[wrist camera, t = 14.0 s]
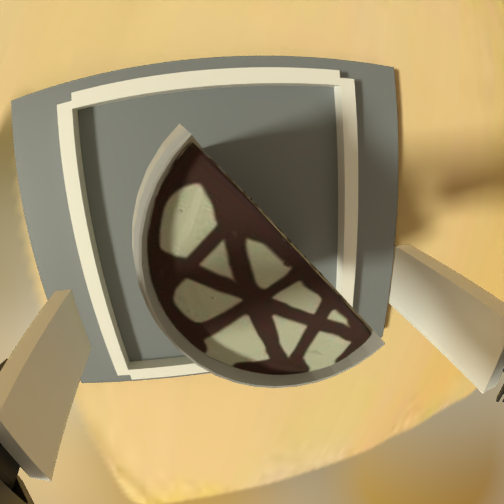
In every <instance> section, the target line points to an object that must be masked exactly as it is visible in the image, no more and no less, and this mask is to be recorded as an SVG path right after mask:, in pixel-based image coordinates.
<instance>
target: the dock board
mask: <svg viewBox="0 0 504 504" xmlns="http://www.w3.org/2000/svg"><path fill="white" fill-rule="evenodd" d="M11 104H12V126H13V138H14V150H15V159H16V167H17V175H18V181H19V188H20V194H21V199H22V205H23V210H24V215H25V220H26V224H27V229H28V233H29V238H30V242H31V246H32V250H33V253H34V257H35V261H36V264H37V268H38V271H39V275H40V278H41V281H42V284H43V288H44V291H45V294H46V297H47V300H49V298H50V297H51V296H52V294H53V293H54V292H55V291H59V290H68V289H72V293H73V296H74V299H75V302H76V305H77V308H78V311H79V314H80V317H81V320H82V323H83V326H84V329H85V332H86V334H87V337H88V340H89V342H90V345H91V347H92V348H91V351H90V354H89V356H88V359H87V362H86V365H85V367H84V370H83V373H82V376H81V379H80V380H81V382H82V383H99V382H120V381H136V380H149V379H160V378H171V377H180V376H189V375H197V374H205V373H210V372H209V371H207V370H205V369H203V368H201V367H200V366H198V365H196V364H195V363H194V362H193V361H191V360H190V359H189V358H188V357H186V356H185V355H184V354H183V353H181V352H180V351H179V350H178V349H177V348H176V346H175V345H174V344H173V343H172V342H171V341H170V340H169V338H168V337H167V336H166V335H165V334H164V333H163V331H162V330H161V329H160V328H159V327H158V325H157V323H156V322H155V320H154V318H153V317H152V315H151V313H150V311H149V310H148V308H147V306H146V303H145V301H144V298H143V295H142V293H141V290H140V287H139V285H138V280H137V275H136V269H135V263H134V257H133V248H132V220H133V215H134V209H135V204H136V199H137V194H138V191H139V188H140V186H141V183H142V181H143V178H144V175H145V173H146V170H147V168H148V166H149V164H150V163H151V161H152V159H153V158H154V156H155V154H156V153H157V151H158V149H159V148H160V146H161V144H162V143H163V142H164V141H165V140H166V138H167V137H168V136H169V135H170V134H171V133H172V131H173V130H174V129H175V128H176V127H177V126H178V124H181V125H182V126H183V127H184V128H185V129H186V130H187V131H188V132H190V133H191V134H192V135H193V137H194V138H195V139H196V141H197V142H198V143H199V145H200V146H201V147H202V149H203V150H204V151H205V152H206V153H207V154H208V155H209V156H210V157H211V158H212V159H213V160H214V161H215V162H216V163H217V164H218V165H219V166H220V167H221V168H222V169H223V170H224V171H225V172H226V173H227V174H228V175H229V177H230V178H231V179H232V180H233V181H234V182H235V183H236V184H237V185H238V186H239V187H240V188H241V189H242V190H243V191H245V193H246V194H247V195H248V196H249V197H250V198H252V200H253V201H254V202H255V203H256V204H257V205H258V207H259V208H260V209H261V210H262V211H263V212H264V213H265V214H266V215H267V216H268V217H269V218H270V219H271V220H272V221H273V222H274V223H275V225H276V226H277V227H278V228H279V229H280V230H281V231H282V232H283V233H284V234H285V235H286V236H287V237H288V238H289V239H290V240H291V242H292V243H293V244H294V245H295V246H296V247H297V248H298V249H299V250H300V251H301V252H302V253H303V255H304V256H306V258H307V259H308V260H309V261H310V262H311V263H312V264H313V265H314V266H315V267H316V268H317V269H318V270H319V272H320V273H322V275H323V276H324V277H325V278H326V279H327V280H328V281H329V282H330V283H331V284H332V285H333V287H334V288H335V289H336V290H337V291H338V292H339V293H340V294H341V295H342V296H343V297H344V299H345V300H346V301H347V302H348V303H349V304H350V305H351V306H352V307H353V308H354V309H355V311H356V312H357V313H358V314H359V315H360V316H361V317H362V318H363V319H364V320H365V322H366V323H367V324H368V325H369V326H370V327H371V328H372V329H373V330H374V332H375V333H376V334H377V335H378V336H379V337H380V338H381V337H382V336H383V331H384V325H385V319H386V312H387V306H388V299H389V292H390V284H391V276H392V267H393V257H394V246H395V234H396V219H397V200H398V120H397V101H396V87H395V75H394V67H389V66H383V65H377V64H370V63H363V62H355V61H347V60H337V59H326V58H313V57H295V56H232V57H214V58H200V59H189V60H180V61H171V62H164V63H156V64H150V65H143V66H138V67H132V68H126V69H121V70H116V71H111V72H107V73H102V74H98V75H93V76H89V77H85V78H81V79H78V80H74V81H70V82H67V83H63V84H60V85H56V86H53V87H50V88H47V89H43V90H40V91H37V92H34V93H31V94H28V95H26V96H23V97H20V98H17V99H15V100H12V101H11Z"/></svg>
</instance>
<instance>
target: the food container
mask: <svg viewBox="0 0 504 504" xmlns="http://www.w3.org/2000/svg"><path fill="white" fill-rule="evenodd" d="M132 248H133V257H134V263H135V269H136V275H137V280H138V285H139V287H140V290H141V293H142V295H143V298H144V301H145V303H146V306H147V308H148V310H149V311H150V313H151V315H152V317H153V318H154V320H155V322H156V323H157V325H158V327H159V328H160V329H161V330H162V331H163V333H164V334H165V335H166V336H167V337H168V338H169V340H170V341H171V342H172V343H173V344H174V345H175V346H176V348H177V349H178V350H179V351H180V352H181V353H183V354H184V355H185V356H186V357H188V358H189V359H190V360H191V361H193V362H194V363H195V364H196V365H198V366H200V367H201V368H203V369H205V370H207V371H209V372H210V373H212V374H214V375H216V376H218V377H221V378H224V379H227V380H229V381H232V382H235V383H239V384H244V385H249V386H254V387H267V388H283V387H296V386H301V385H306V384H311V383H315V382H319V381H322V380H324V379H327V378H330V377H333V376H336V375H338V374H340V373H342V372H344V371H346V370H348V369H350V368H352V367H354V366H356V365H357V364H359V363H360V362H362V361H363V360H365V359H366V358H368V357H369V356H371V355H372V354H373V353H375V352H376V351H377V350H378V349H380V348H381V347H382V346H383V345H384V344H385V343H384V342H383V341H382V339H381V338H380V337H379V336H378V335H377V334H376V333H375V332H374V330H373V329H372V328H371V327H370V326H369V325H368V324H367V323H366V322H365V320H364V319H363V318H362V317H361V316H360V315H359V314H358V313H357V312H356V311H355V309H354V308H353V307H352V306H351V305H350V304H349V303H348V302H347V301H346V300H345V299H344V297H343V296H342V295H341V294H340V293H339V292H338V291H337V290H336V289H335V288H334V287H333V285H332V284H331V283H330V282H329V281H328V280H327V279H326V278H325V277H324V276H323V275H322V273H320V272H319V270H318V269H317V268H316V267H315V266H314V265H313V264H312V263H311V262H310V261H309V260H308V259H307V258H306V256H304V255H303V253H302V252H301V251H300V250H299V249H298V248H297V247H296V246H295V245H294V244H293V243H292V242H291V240H290V239H289V238H288V237H287V236H286V235H285V234H284V233H283V232H282V231H281V230H280V229H279V228H278V227H277V226H276V225H275V223H274V222H273V221H272V220H271V219H270V218H269V217H268V216H267V215H266V214H265V213H264V212H263V211H262V210H261V209H260V208H259V207H258V205H257V204H256V203H255V202H254V201H253V200H252V198H250V197H249V196H248V195H247V194H246V193H245V191H243V190H242V189H241V188H240V187H239V186H238V185H237V184H236V183H235V182H234V181H233V180H232V179H231V178H230V177H229V175H228V174H227V173H226V172H225V171H224V170H223V169H222V168H221V167H220V166H219V165H218V164H217V163H216V162H215V161H214V160H213V159H212V158H211V157H210V156H209V155H208V154H207V153H206V152H205V151H204V150H203V149H202V147H201V146H200V145H199V143H198V142H197V141H196V139H195V138H194V137H193V135H192V134H191V133H190V132H188V131H187V130H186V129H185V128H184V127H183V126H182V125H181V124H178V126H177V127H176V128H175V129H174V130H173V131H172V133H171V134H170V135H169V136H168V137H167V138H166V140H165V141H164V142H163V143H162V144H161V146H160V148H159V149H158V151H157V153H156V154H155V156H154V158H153V159H152V161H151V163H150V164H149V166H148V168H147V170H146V173H145V175H144V178H143V181H142V183H141V186H140V188H139V191H138V194H137V199H136V204H135V209H134V215H133V220H132Z"/></svg>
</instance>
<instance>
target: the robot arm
mask: <svg viewBox="0 0 504 504" xmlns="http://www.w3.org/2000/svg"><path fill="white" fill-rule="evenodd" d="M389 304H390V305H391V306H393V307H394V308H395V309H396V310H397V311H398V312H399V313H400V314H401V315H402V316H403V317H405V318H406V319H407V320H408V321H409V322H410V323H411V324H412V325H413V326H414V327H415V328H416V329H417V330H418V331H419V332H421V333H422V334H423V335H424V336H425V337H426V338H427V339H428V340H429V341H430V342H431V343H432V344H433V345H434V346H435V347H436V348H437V349H438V350H439V351H440V352H441V353H442V354H443V355H445V356H446V357H447V358H448V359H449V360H450V361H451V362H452V363H453V364H454V365H455V366H456V367H457V368H458V369H459V370H460V371H461V372H462V373H463V374H464V375H465V376H466V377H467V378H468V379H469V380H470V381H471V382H472V383H473V384H474V385H475V386H476V387H477V388H478V389H479V390H480V391H481V393H485V392H487V391H488V390H490V389H491V388H493V387H495V386H496V385H497V383H498V381H499V379H500V376H501V374H502V372H504V302H502V301H501V300H499V299H498V298H496V297H495V296H493V295H492V294H490V293H489V292H487V291H486V290H484V289H483V288H481V287H480V286H478V285H476V284H475V283H473V282H472V281H470V280H469V279H467V278H465V277H464V276H462V275H461V274H459V273H457V272H456V271H454V270H452V269H451V268H449V267H447V266H446V265H444V264H442V263H441V262H439V261H437V260H436V259H434V258H432V257H431V256H429V255H427V254H426V253H424V252H422V251H420V250H419V249H417V248H415V247H413V246H412V245H410V244H407V245H400V246H395V257H394V266H393V275H392V283H391V291H390V298H389ZM91 348H92V347H91V345H90V342H89V340H88V337H87V334H86V332H85V329H84V326H83V323H82V320H81V317H80V314H79V311H78V308H77V305H76V302H75V299H74V296H73V293H72V289H68V290H59V291H55V292H54V293H53V294H52V296H51V297H50V298H49V300H48V301H47V302H46V304H45V305H44V307H43V308H42V309H41V311H40V312H39V313H38V315H37V316H36V318H35V319H34V321H33V322H32V323H31V325H30V326H29V328H28V329H27V331H26V332H25V334H24V335H23V337H22V338H21V340H20V341H19V343H18V344H17V346H16V347H15V349H14V350H13V352H12V353H11V355H10V357H9V358H8V359H6V360H5V361H4V362H3V363H1V364H0V504H34V502H33V500H32V498H31V497H30V495H29V493H28V491H27V489H26V487H25V485H24V483H23V481H22V480H21V479H20V477H19V476H18V475H17V474H18V471H19V468H20V467H21V468H22V469H23V470H24V471H25V472H26V473H27V474H28V476H29V477H31V478H35V479H41V480H47V481H51V480H52V476H53V471H54V467H55V463H56V459H57V455H58V451H59V447H60V444H61V440H62V436H63V433H64V429H65V425H66V422H67V419H68V415H69V412H70V409H71V406H72V403H73V400H74V397H75V394H76V391H77V388H78V385H79V382H80V379H81V376H82V373H83V370H84V367H85V365H86V362H87V359H88V356H89V354H90V351H91ZM503 394H504V384H503V386H502V388H501V390H500V392H499V394H498V396H497V400H496V401H497V402H499V400H500V398H501V397H502V395H503ZM503 402H504V399H503Z"/></svg>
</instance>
